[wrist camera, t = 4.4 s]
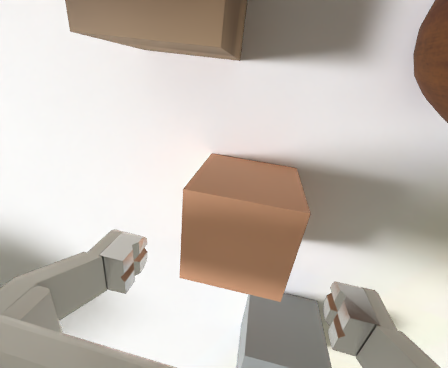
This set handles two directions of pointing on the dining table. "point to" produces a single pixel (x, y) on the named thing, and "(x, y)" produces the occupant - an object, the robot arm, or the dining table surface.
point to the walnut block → (164, 24)
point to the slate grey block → (282, 334)
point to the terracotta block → (242, 225)
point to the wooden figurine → (433, 57)
